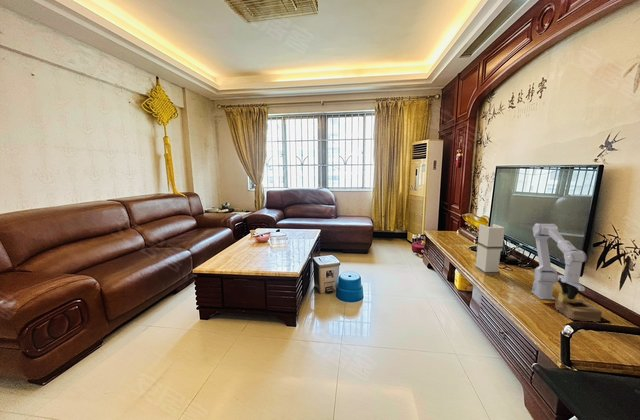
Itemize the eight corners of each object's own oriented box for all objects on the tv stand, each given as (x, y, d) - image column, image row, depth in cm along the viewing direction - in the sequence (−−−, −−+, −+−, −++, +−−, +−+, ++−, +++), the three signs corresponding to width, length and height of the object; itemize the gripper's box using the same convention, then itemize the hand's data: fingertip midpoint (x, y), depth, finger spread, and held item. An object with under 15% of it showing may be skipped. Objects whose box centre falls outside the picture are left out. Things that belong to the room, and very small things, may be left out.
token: (557, 299, 135) (559, 292, 135) (570, 300, 134) (571, 293, 134) (562, 302, 132) (563, 295, 132) (575, 303, 132) (576, 296, 131)
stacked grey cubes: (499, 274, 182) (504, 227, 176) (484, 274, 182) (489, 227, 176) (489, 268, 193) (494, 223, 187) (475, 268, 193) (479, 224, 187)
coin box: (554, 307, 139) (556, 297, 138) (579, 309, 137) (580, 299, 136) (572, 320, 127) (574, 310, 126) (599, 322, 126) (601, 311, 125)
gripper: (553, 267, 138) (549, 290, 141) (574, 278, 124) (570, 304, 127) (567, 267, 137) (564, 290, 140) (591, 279, 123) (587, 304, 125)
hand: (568, 297), depth 133 cm, fingers closed on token, 3 cm apart
